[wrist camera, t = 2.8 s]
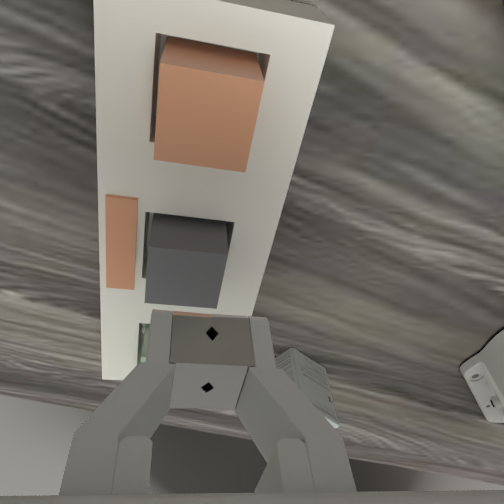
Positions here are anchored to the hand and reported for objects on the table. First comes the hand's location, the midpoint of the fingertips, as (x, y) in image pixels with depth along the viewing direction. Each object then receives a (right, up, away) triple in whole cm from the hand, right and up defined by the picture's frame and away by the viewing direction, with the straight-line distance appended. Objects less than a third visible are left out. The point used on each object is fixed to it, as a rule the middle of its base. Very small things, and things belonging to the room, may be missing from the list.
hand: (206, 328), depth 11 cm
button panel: (-4, +5, +24) cm, 24 cm away
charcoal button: (-4, +3, +21) cm, 22 cm away
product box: (+5, -11, +38) cm, 40 cm away
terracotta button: (-1, +12, +15) cm, 19 cm away
